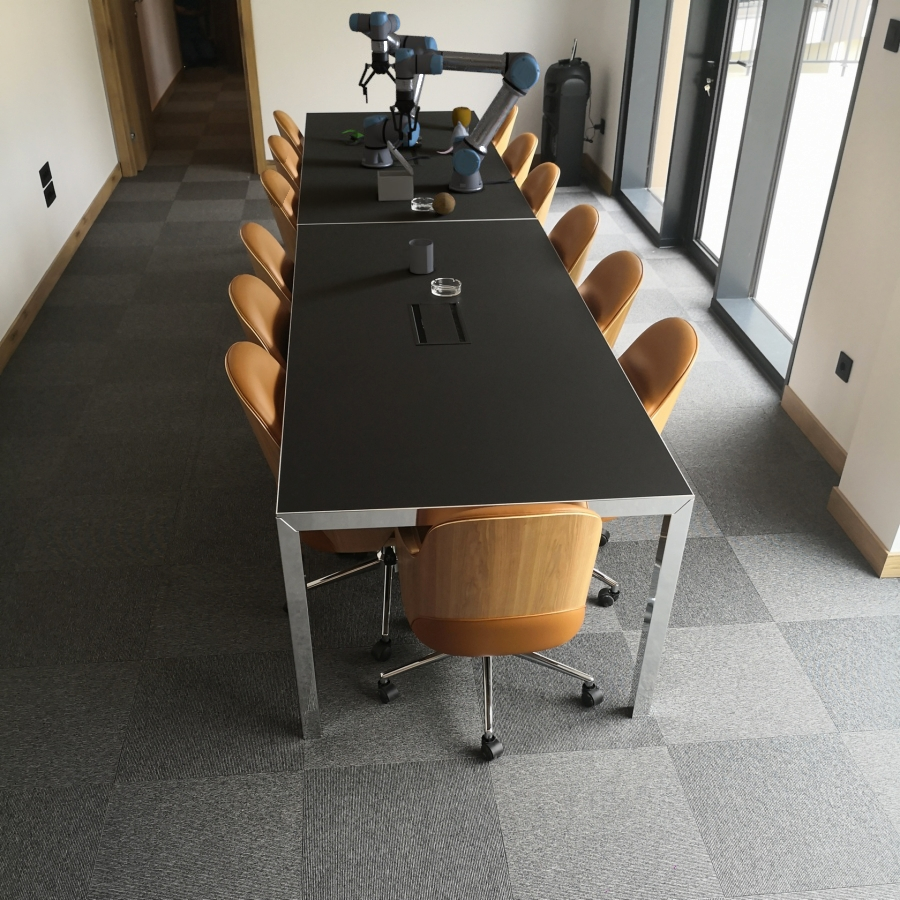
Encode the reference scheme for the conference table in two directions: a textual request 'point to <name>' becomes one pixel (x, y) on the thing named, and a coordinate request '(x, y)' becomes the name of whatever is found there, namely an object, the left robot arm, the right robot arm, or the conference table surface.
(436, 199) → the potato
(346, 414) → the conference table surface
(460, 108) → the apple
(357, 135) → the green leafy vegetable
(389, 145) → the lid
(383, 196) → the chest
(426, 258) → the cup
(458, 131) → the toy
